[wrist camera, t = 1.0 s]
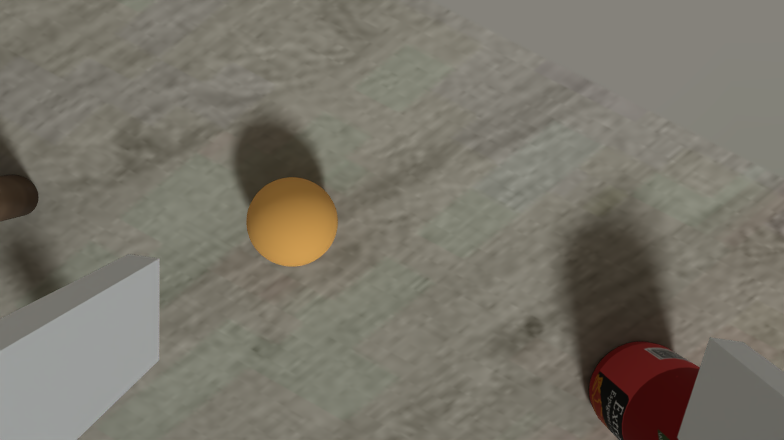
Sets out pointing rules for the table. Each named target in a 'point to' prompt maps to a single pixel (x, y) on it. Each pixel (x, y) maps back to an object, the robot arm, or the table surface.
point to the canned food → (642, 391)
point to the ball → (292, 221)
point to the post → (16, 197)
